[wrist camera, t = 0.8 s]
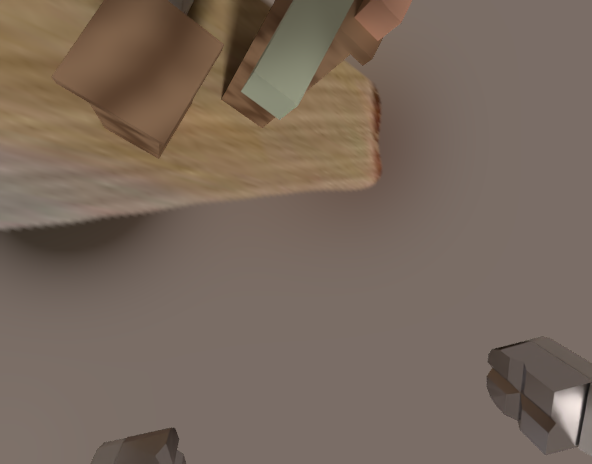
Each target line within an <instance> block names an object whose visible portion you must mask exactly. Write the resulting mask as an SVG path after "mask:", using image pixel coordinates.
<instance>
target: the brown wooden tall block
mask: <svg viewBox="0 0 592 464" xmlns="http://www.w3.org/2000/svg"><path fill="white" fill-rule="evenodd" d="M292 1H293V0H275V2H274V4H273V6H272V7H271V9H270V11H269V13H268V15H267V17H266V18H265V20H264V22H263V24H262V26H261V28H260V29H259V31H258V33H257V35H256V37H255V39H254V40H253V42H252V44H251V46H250V48H249V50H248V51H247V53H246V55H245V57H244V59H243V61H242V62H241V64H240V66H239V68H238V70H237V72H236V73H235V75H234V77H233V79H232V81H231V83H230V84H229V86H228V88H227V90H226V92H225V94H224V95H223V97H222V100H223V101H224V102H226V103H227V104H229V105H230V106H232V107H233V108H234V109H236V110H237V111H239V112H240V113H242V114H243V115H244V116H246V117H247V118H249V119H250V120H252V121H253V122H254V123H256V124H257V125H259V126H260V127H262V128H263V127H264V126H265V125H267V124H268V123H269V122H270V121H271V120H273V119H274V118H275V116H273V115H272V114H271V113H269V112H268V111H267V110H265V109H264V108H263V107H261V106H260V105H258V104H257V103H256V102H254V101H253V100H252V99H250V98H249V97H248V96H246V95H245V94H243V93H242V92H241V90H242V89H243V87H244V85H245V83H246V82H247V80H248V78H249V76H250V75H251V73H252V71H253V69H254V68H255V66H256V64H257V62H258V61H259V59H260V57H261V55H262V54H263V52H264V50H265V48H266V47H267V45H268V43H269V41H270V40H271V38H272V36H273V34H274V33H275V31H276V29H277V27H278V26H279V24H280V22H281V20H282V19H283V17H284V15H285V13H286V12H287V10H288V8H289V6H290V5H291V3H292ZM362 2H363V0H354V1H353V3H352V5H351V7H350V9H349V11H348V13H347V14H346V16H345V18H344V20H343V22H342V24H341V26H340V28H339V29H338V31H337V33H336V35H335V37H334V39H333V41H332V43H331V44H330V46H329V48H328V50H327V52H326V54H325V56H324V58H323V59H322V61H321V63H320V65H319V67H318V69H317V71H316V73H315V74H314V76H313V78H312V80H311V82H310V84H309V86H308V88H307V90H308V89H310V88H311V87H312V86H313V85H314V84H316V83H317V82H318V81H319V80H320V79H322V78H323V77H324V76H325V75H326V74H328V73H329V72H330V71H331V70H332V69H334V68H335V67H336V66H337V65H338V64H340V63H341V62H342V61H343V60H344V59H345V58H347V57H348V56H349V55H350V54H351V55H352V56H353V57H354V58H355V59H356V60H357V61H358V62H359V63H360V64H361V65H362V66H363V65H365V64H366V63H367V62H369V61H370V60H372V58H373V57H374V55H375V52H376V51H377V49H378V47H379V45H380V43H381V41H382V39H383V37H382V38H381V39H380V40H379V41H377V40H376V39H375V38H374V37H373V36H372V35H371V34H370V33H369V32H368V31H367V30H366V29H365V28H364V27H363V26H362V25H361V24H360V23H359V22H358V21H357V20H356V19H355V18H354V17H355V15H356V13H357V11H358V9H359V7H360V5H361V4H362ZM307 90H306V91H307ZM306 91H305V92H306Z"/></svg>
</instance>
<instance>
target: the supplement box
mask: <svg viewBox="0 0 592 464" xmlns="http://www.w3.org/2000/svg"><path fill="white" fill-rule="evenodd" d="M168 1H169V2H170V3H172V4H173V5H174V6H176V7H177V8H178V9H179V10H181V11H182V12H183V13H185V14H186V15H187V14H188V11H189V9H190V7H191V5H192V3H193V1H194V0H168Z"/></svg>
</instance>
